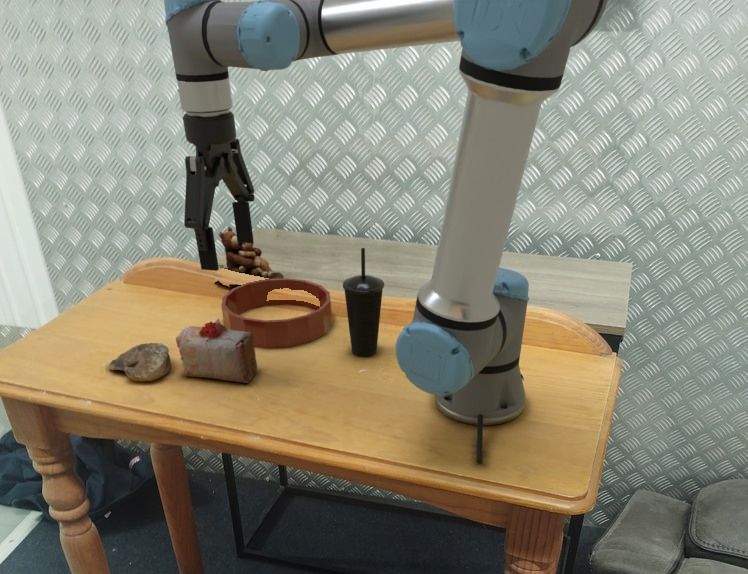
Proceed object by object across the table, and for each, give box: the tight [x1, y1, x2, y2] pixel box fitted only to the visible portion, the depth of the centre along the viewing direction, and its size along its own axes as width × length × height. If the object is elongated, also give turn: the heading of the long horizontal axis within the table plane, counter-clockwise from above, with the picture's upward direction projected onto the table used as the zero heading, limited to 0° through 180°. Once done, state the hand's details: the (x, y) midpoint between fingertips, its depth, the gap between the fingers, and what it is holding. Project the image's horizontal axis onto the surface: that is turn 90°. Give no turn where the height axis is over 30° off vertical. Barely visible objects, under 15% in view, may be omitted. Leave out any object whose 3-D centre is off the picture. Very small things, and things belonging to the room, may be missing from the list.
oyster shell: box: [108, 342, 172, 382], centre depth 132 cm, size 10×12×5 cm
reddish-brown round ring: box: [220, 277, 333, 349], centre depth 147 cm, size 22×22×6 cm
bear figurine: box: [218, 226, 285, 279], centre depth 164 cm, size 14×15×12 cm
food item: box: [175, 318, 258, 384], centre depth 129 cm, size 14×8×10 cm, turn 75°
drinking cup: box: [342, 247, 385, 358], centre depth 133 cm, size 8×8×20 cm
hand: (228, 255), depth 119 cm, fingers open, 13 cm apart
